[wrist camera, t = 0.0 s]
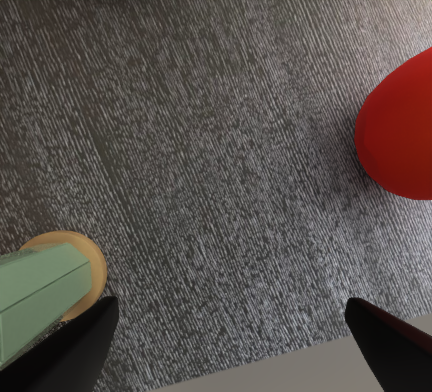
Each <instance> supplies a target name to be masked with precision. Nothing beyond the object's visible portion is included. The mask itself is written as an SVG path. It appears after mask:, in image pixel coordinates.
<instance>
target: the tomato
mask: <svg viewBox="0 0 432 392" xmlns="http://www.w3.org/2000/svg"><path fill="white" fill-rule="evenodd" d="M354 142H355V146H356V150H357V154H358V157H359V161H360V162H361V164H362V166H363V167H364V169H365V170H366V172H367V174H368V175H369V176H370V177H371V178H372V179H373V180H374V181H376V182H377V183H378V184H379V185H381V186H382V187H383V188H384V189H385V190H387V191H388V192H391V193H393V194H396V195H398V196H402V197H406V198H409V199H413V200H432V47H430V48H429V49H427V50H425V51H423V52H421V53H420V54H418V55H416V56H414V57H413V58H411V59H409V60H407V61H406V62H405V63H403V64H402V65H401V66H399V67H398V68H397V69H396V70H394V71H393V72H392V73H390V74H389V75H388V76H387V77H386V78H385V79H384V80H383V81H382V82H381V83H380V84H379V85H378V86H377V87H376V88H375V89H374V90H373V91H372V92H371V93H370V94H369V95H368V97H367V98H366V100H365V102H364V104H363V106H362V108H361V110H360V112H359V114H358V116H357V119H356V124H355V136H354Z"/></svg>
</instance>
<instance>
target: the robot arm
mask: <svg viewBox="0 0 432 392" xmlns="http://www.w3.org/2000/svg"><path fill="white" fill-rule="evenodd" d="M344 317H345V321H346V323H347V325H348V327H349V329H350V331H351V333H352V335H353V337H354V339H355V340H356V342H357V344H358V346H359V348H360V350H361V352H362V354H363V356H364V358H365V360H366V362H367V363H368V365H369V367H370V369H371V370H372V372H373V373H374V375H375V377H376V378H377V380H378V382H379V384H380V385H381V387H382V388H383V390H384V392H432V336H430V335H429V334H427V333H425V332H423V331H421V330H419V329H417V328H416V327H414V326H412V325H410V324H408V323H406V322H405V321H403V320H401V319H399V318H397V317H395V316H393V315H392V314H390V313H388V312H386V311H384V310H382V309H381V308H379V307H377V306H375V305H373V304H371V303H369V302H368V301H366V300H364V299H362V298H359V297H351V298H349V299H348V301H347V305H346V309H345V314H344ZM118 320H119V306H118V298H117V297H116V296H106V297H104V298H102V299H101V300H99V301H98V302H97V303H95V304H94V305H92V306H91V307H90V308H88V309H87V310H85V311H84V312H83V313H81V314H80V315H78V316H77V317H76V318H74V319H73V320H71V321H70V322H68V323H67V324H66V325H64V326H63V327H61V328H60V329H59V330H57V331H56V332H54V333H53V334H52V335H50V336H49V337H47V338H46V339H45V340H43V341H42V342H40V343H39V344H37V345H36V346H35V347H33V348H32V349H30V350H29V351H28V352H26V353H25V354H23V355H22V356H21V357H19V358H18V359H16V360H15V361H14V362H12V363H11V364H9V365H8V366H6V367H5V368H4V369H2V370H1V371H0V392H92V391H93V388H94V386H95V384H96V382H97V379H98V377H99V375H100V372H101V370H102V367H103V365H104V362H105V359H106V356H107V353H108V350H109V347H110V344H111V341H112V338H113V335H114V332H115V329H116V326H117V323H118Z"/></svg>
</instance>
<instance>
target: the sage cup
mask: <svg viewBox="0 0 432 392" xmlns="http://www.w3.org/2000/svg"><path fill="white" fill-rule="evenodd" d="M89 261H90V260H89V259H88V258H87V257H86V256H84V255H83V254H82V253H81V252H80V251H79V250H77V249H76V248H75V247H74V246H73V245H71V244H70V243H67V242H66V243H50V244H39V245H36V246H33V247H29V248H26V249H22V250H19V251H16V252H12V253H9V254H6V255H2V256H0V371H1V370H2V369H4V368H5V367H6V366H8V365H9V364H11V363H12V362H14V361H15V360H16V359H17V358H18V357H20V356H21V355H22V354H23V353H24V352H25V351H26V350H28V349H29V348H30V347H31V346H32V345H33V344H34V343H36V342H37V341H38V340H39V339H40V338H41V337H42V336H44V335H45V334H46V333H47V332H48V331H49V330H50V329H52V328H53V327H54V326H55V325H56V324H57V323H58V322H60V321H61V320H62V319H63V318H64V317H65V316H66V315H68V314H69V313H70V312H71V311H72V310H73V309H74V308H75V307H76V306H77V305H78V304H79V303H80V302H81V300H82V299H83V298H84V297H85V296H86V295H87V294H88V293H89V292H90V291H91V288H92V279H91V262H89Z"/></svg>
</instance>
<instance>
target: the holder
mask: <svg viewBox="0 0 432 392" xmlns="http://www.w3.org/2000/svg"><path fill="white" fill-rule="evenodd" d="M66 242H67V243H70V244H71V245H73V246H74V247H75V248H76V249H77V250H79V251H80V252H81V253H82V254H83V255H84V256H86V257H87V258H88V259H89V260H90V261H89V262H91V279H92V288H91V291H90V292H89V293H88V294H87V295H86V296H85V297H84V298H83V299H82V300H81V302H80V303H79V304H78V305H77V306H76V307H75V308H74V309H73V310H72V311H71V312H70V313H69V314H68V315H66V316H65V317H64V318H63V319H62V320H61V321H60V322H62V321H67V320H70V319H73V318H76V317H77V316H78V315H80V314H81V313H83V312H84V311H85V310H87V309H88V308H90V307H91V306H92V305H93V304H94V303H95V302H96V301H97V300H98V298H99V297H100V295H101V294H102V292H103V290H104V287H105V284H106V280H107V265H106V261H105V258H104V256H103V254H102V252H101V250H100V249H99V248H98V246H97V245H96V244H95V243H94V242H93V241H92V240H90V239H89V238H88V237H86V236H84V235H82V234H79V233H77V232H73V231H66V230H60V231H53V232H49V233H45V234H41V235H39V236H36V237H34V238H33V239H31V240H29V241H28V242H27V243H25V244H24V245H23V246H22V247H21V248H20V250H22V249H26V248H29V247H33V246H36V245H39V244H50V243H66Z"/></svg>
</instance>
